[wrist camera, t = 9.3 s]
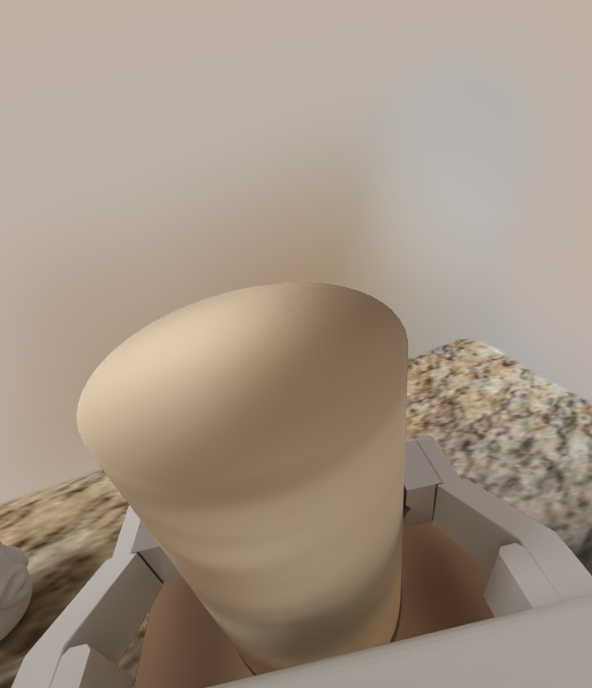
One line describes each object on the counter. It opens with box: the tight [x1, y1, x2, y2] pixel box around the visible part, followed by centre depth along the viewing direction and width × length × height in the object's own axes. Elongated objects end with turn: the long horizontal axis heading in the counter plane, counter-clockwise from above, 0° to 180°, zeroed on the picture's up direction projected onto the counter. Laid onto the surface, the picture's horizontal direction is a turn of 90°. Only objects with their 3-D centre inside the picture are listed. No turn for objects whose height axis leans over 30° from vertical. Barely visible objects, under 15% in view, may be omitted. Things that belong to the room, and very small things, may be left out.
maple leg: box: [77, 282, 408, 676], centre depth 10 cm, size 6×6×14 cm
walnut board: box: [134, 522, 494, 688], centre depth 17 cm, size 20×14×4 cm
